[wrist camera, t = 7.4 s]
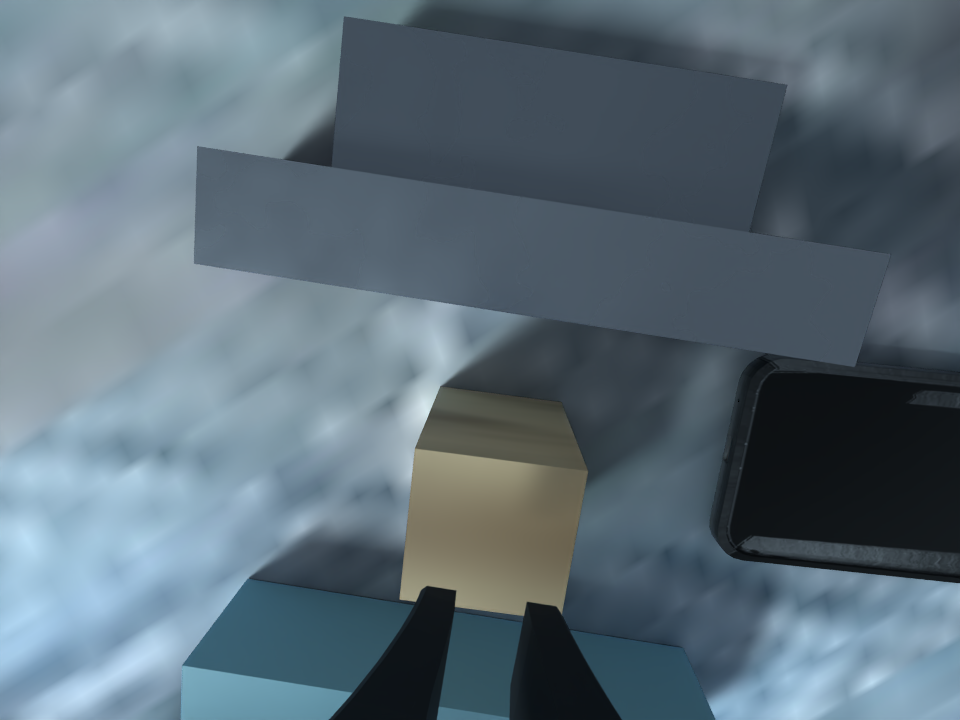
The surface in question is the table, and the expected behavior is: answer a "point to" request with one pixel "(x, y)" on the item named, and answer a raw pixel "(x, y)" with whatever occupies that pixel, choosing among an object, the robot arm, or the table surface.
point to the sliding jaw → (364, 638)
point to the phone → (843, 469)
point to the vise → (543, 197)
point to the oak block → (494, 502)
